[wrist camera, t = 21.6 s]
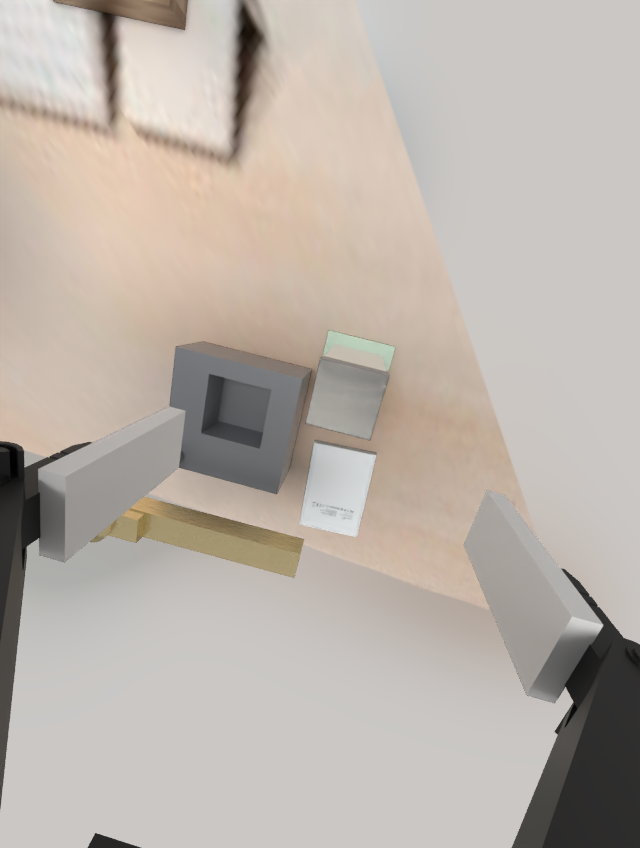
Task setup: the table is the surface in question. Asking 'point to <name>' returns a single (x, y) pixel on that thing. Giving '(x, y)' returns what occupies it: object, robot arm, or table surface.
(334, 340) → the pad
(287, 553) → the clip
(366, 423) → the plug
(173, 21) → the mug corral
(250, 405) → the socket block
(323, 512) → the external hard drive
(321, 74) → the table surface
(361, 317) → the table surface
